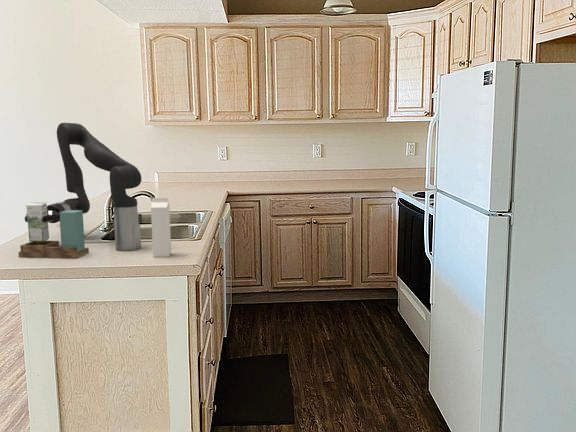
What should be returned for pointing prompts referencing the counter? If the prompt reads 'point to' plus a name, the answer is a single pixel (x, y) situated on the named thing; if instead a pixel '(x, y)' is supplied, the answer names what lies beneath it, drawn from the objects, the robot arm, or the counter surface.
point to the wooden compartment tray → (50, 250)
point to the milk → (161, 227)
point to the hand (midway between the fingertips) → (34, 219)
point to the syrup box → (37, 221)
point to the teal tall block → (72, 229)
